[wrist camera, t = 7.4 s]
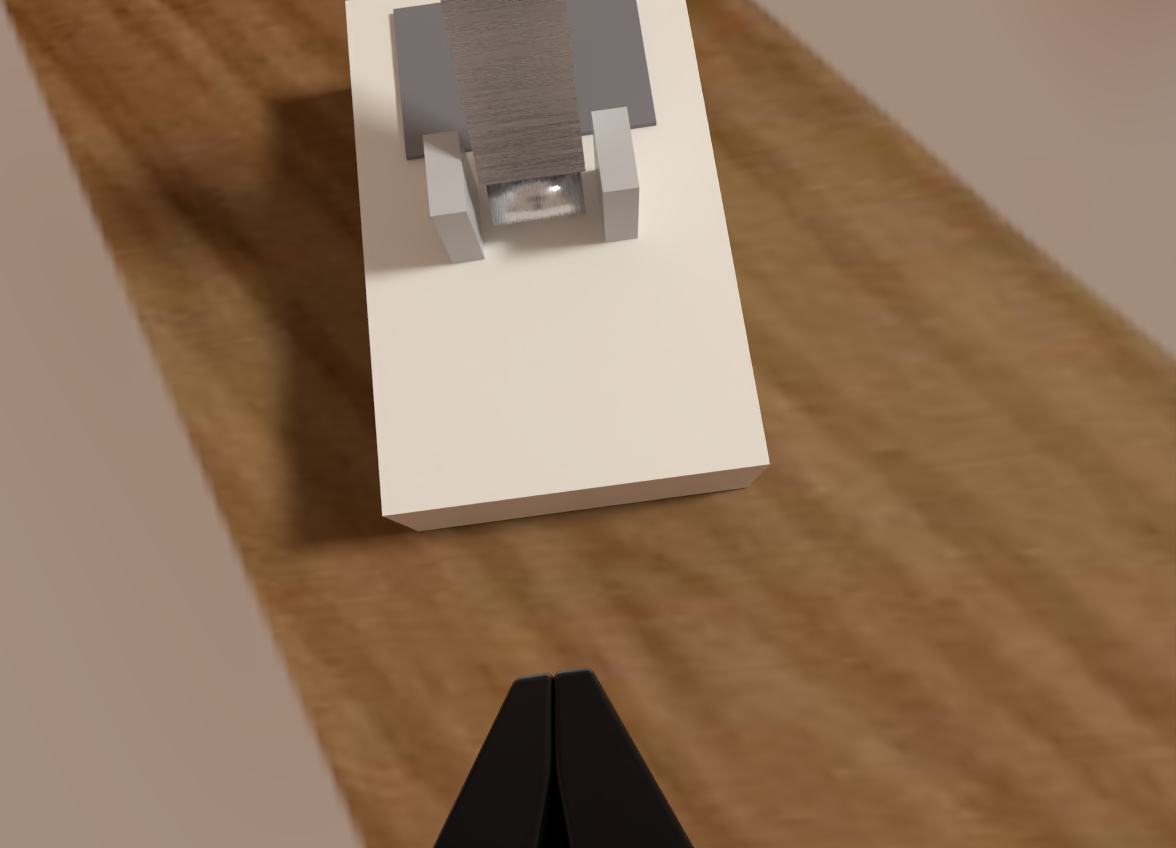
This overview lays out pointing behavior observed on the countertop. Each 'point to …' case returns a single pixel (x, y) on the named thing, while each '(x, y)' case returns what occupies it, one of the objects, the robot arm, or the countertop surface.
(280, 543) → the countertop surface
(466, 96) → the switch lever
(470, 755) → the countertop surface
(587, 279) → the switch box
